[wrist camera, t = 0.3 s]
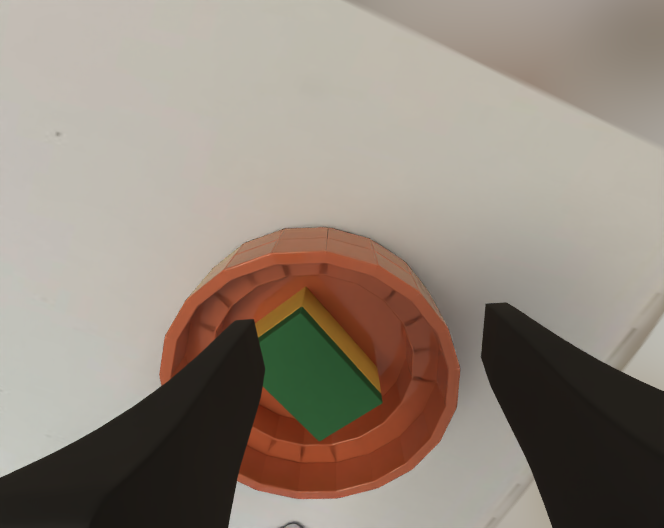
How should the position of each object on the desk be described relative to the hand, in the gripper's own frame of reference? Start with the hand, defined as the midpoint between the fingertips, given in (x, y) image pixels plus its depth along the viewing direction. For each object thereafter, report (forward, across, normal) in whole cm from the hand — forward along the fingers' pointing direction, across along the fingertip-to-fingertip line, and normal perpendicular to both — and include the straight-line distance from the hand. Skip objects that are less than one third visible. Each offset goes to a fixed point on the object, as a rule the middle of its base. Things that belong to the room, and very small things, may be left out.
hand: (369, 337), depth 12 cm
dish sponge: (+9, +3, +7) cm, 12 cm away
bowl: (+9, +3, +7) cm, 12 cm away
